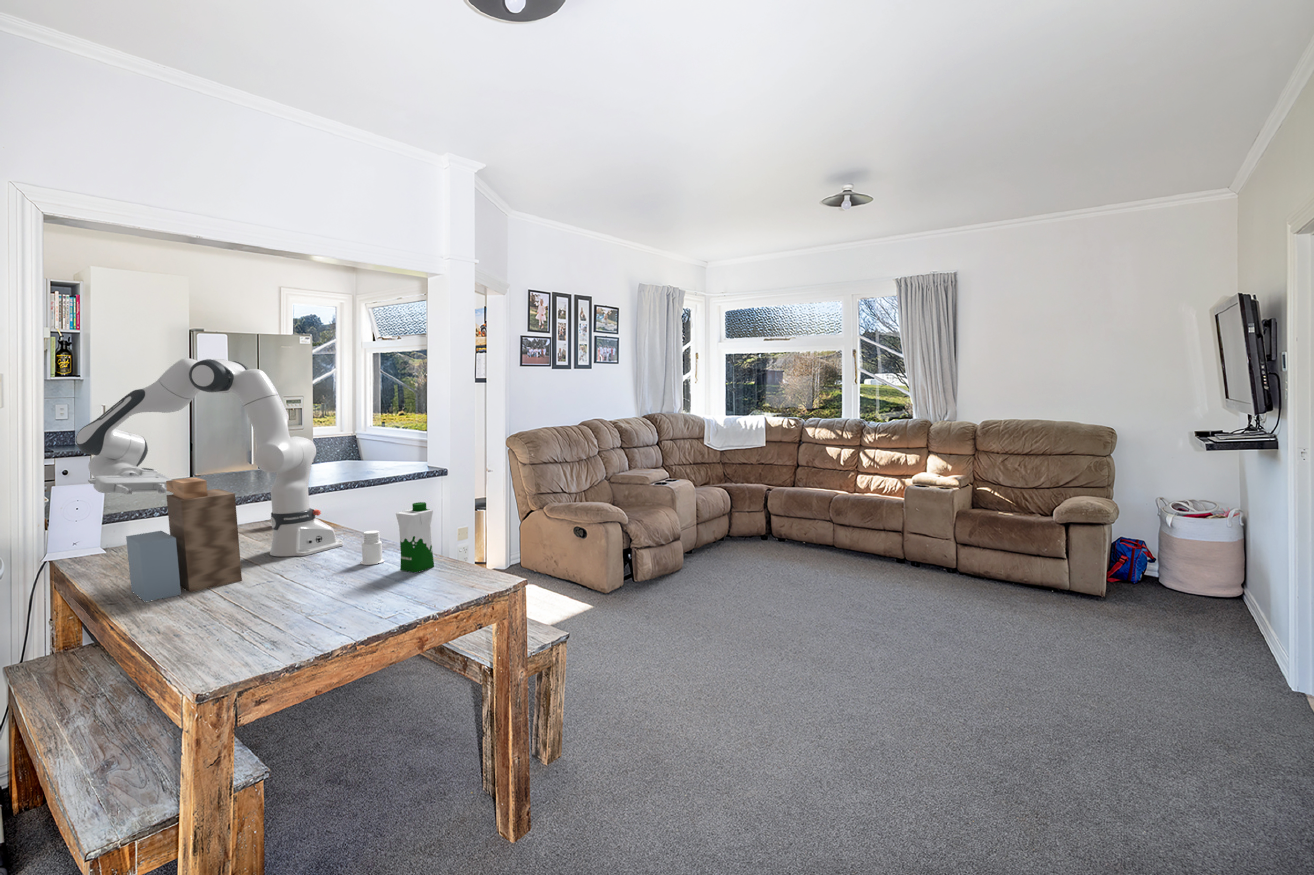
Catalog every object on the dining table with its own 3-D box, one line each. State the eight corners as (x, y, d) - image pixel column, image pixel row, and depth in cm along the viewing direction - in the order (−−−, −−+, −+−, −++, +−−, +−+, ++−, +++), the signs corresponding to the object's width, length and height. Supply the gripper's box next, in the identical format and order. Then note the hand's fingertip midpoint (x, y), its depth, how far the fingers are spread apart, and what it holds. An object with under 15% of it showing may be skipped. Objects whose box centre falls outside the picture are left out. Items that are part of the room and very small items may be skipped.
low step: (166, 584, 189) (161, 530, 187) (180, 594, 180) (175, 537, 179) (131, 591, 183) (126, 536, 181) (145, 602, 174) (139, 544, 172)
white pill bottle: (374, 566, 204) (373, 534, 203) (354, 565, 205) (353, 534, 205) (389, 560, 212) (388, 529, 211) (370, 559, 213) (369, 529, 213)
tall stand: (225, 571, 201) (218, 488, 198) (241, 580, 192) (234, 493, 189) (174, 582, 191) (166, 495, 188) (189, 592, 182) (181, 500, 179)
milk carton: (438, 566, 203) (435, 503, 201) (415, 574, 195) (412, 508, 193) (418, 562, 207) (415, 501, 205) (395, 570, 199) (391, 506, 197)
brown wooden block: (184, 488, 199) (183, 474, 198) (207, 496, 186) (206, 480, 185) (162, 491, 195) (161, 476, 194) (184, 499, 181) (182, 483, 181)
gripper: (87, 469, 201) (109, 482, 195) (161, 469, 220) (183, 481, 214) (83, 488, 202) (105, 502, 196) (157, 487, 220) (179, 499, 214)
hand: (146, 491), depth 205 cm, fingers open, 8 cm apart
